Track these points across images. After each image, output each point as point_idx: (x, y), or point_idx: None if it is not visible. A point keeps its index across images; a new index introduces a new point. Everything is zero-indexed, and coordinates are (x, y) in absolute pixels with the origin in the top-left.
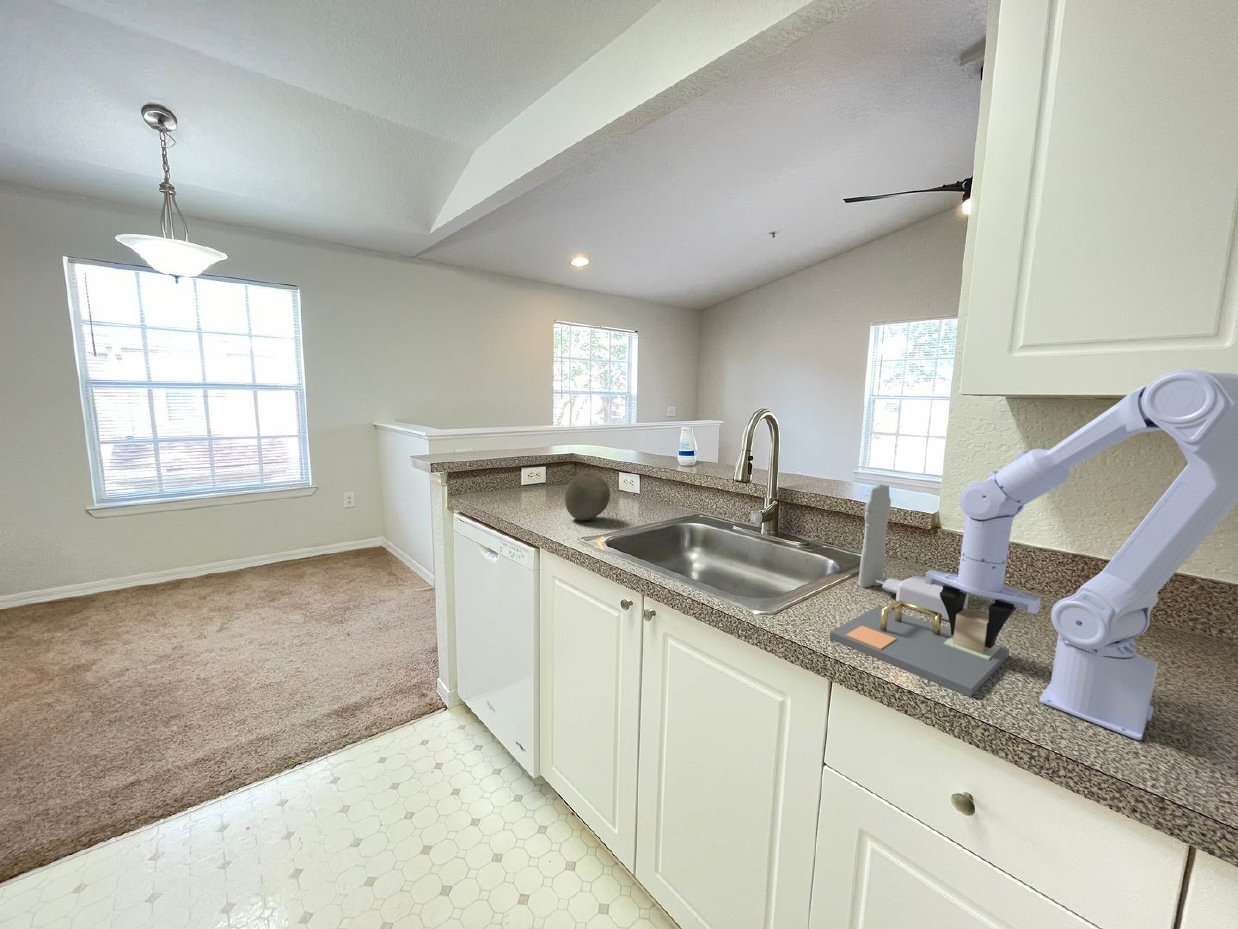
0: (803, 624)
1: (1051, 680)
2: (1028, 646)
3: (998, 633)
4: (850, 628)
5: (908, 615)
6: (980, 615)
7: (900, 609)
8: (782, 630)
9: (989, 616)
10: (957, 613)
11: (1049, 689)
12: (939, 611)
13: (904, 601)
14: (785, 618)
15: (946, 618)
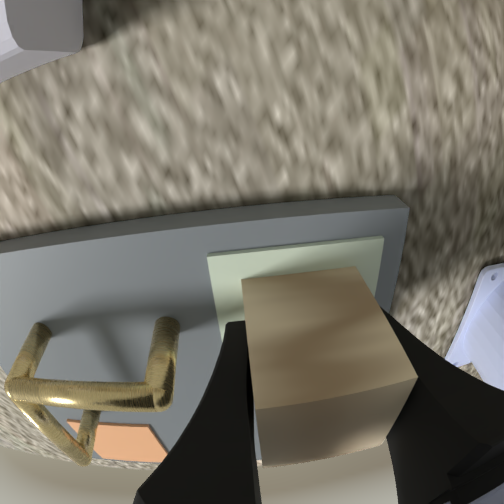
0: (27, 428)
1: (478, 359)
2: (420, 16)
3: (407, 331)
4: (73, 434)
5: (6, 253)
6: (352, 419)
7: (33, 376)
8: (49, 453)
9: (397, 475)
10: (262, 464)
11: (467, 327)
12: (20, 69)
13: (20, 396)
14: (5, 425)
15: (65, 55)
